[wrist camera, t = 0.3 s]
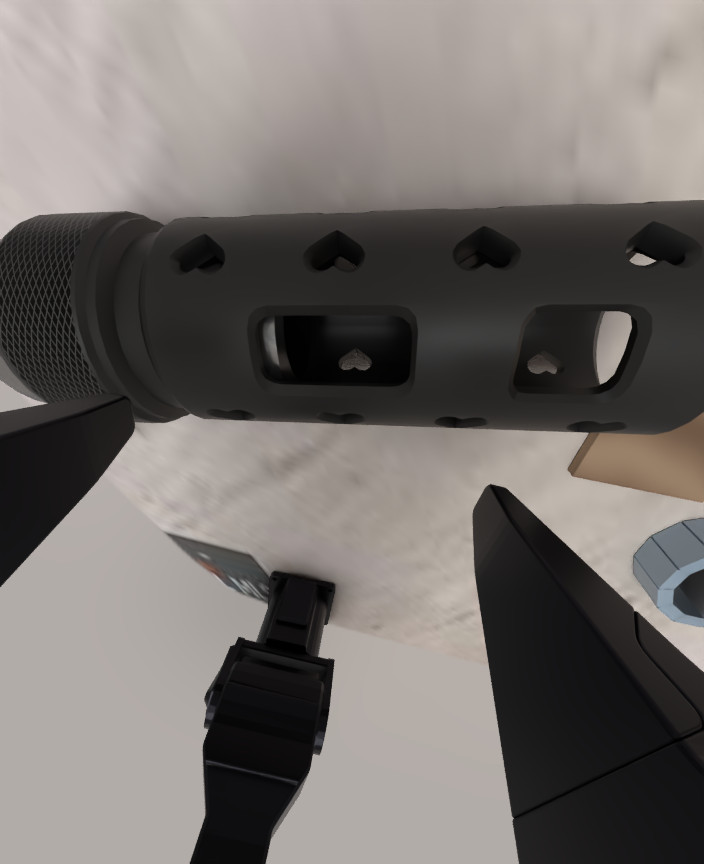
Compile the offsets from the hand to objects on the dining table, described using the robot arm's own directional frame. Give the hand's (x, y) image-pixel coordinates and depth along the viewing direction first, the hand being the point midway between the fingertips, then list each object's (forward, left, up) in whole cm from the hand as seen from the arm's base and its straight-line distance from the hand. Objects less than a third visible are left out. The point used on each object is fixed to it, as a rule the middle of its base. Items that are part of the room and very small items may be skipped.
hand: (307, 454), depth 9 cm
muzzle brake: (+1, +1, -15) cm, 15 cm away
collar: (-13, -29, -15) cm, 35 cm away
